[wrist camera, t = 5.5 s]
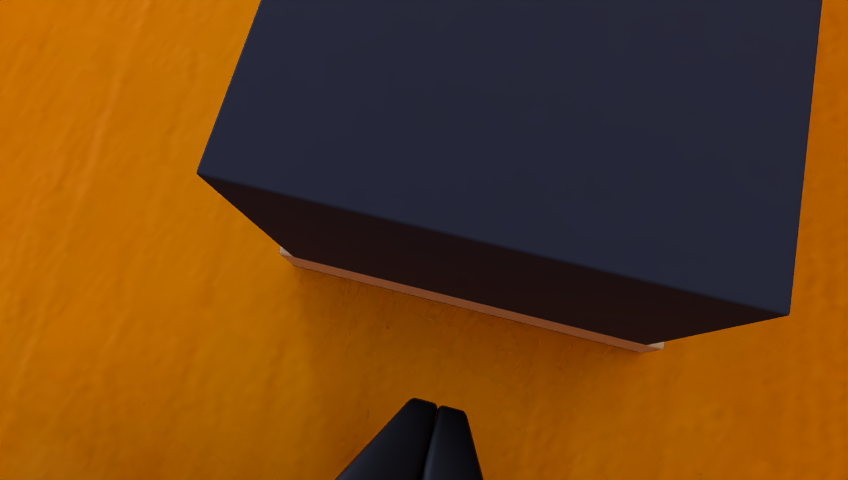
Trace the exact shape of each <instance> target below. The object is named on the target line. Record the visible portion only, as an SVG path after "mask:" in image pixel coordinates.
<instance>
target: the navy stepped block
mask: <svg viewBox="0 0 848 480" xmlns="http://www.w3.org/2000/svg"><path fill="white" fill-rule="evenodd" d="M821 7H822V0H261V2H260V5H259V7H258V10H257V13H256V15H255V18H254V21H253V23H252V26H251V29H250V31H249V34H248V36H247V39H246V42H245V44H244V47H243V50H242V52H241V55H240V58H239V60H238V63H237V66H236V68H235V71H234V74H233V76H232V79H231V82H230V84H229V87H228V90H227V92H226V95H225V98H224V100H223V103H222V106H221V108H220V111H219V114H218V116H217V119H216V122H215V124H214V127H213V129H212V132H211V135H210V137H209V140H208V143H207V145H206V148H205V151H204V153H203V156H202V159H201V161H200V164H199V167H198V169H197V174H198V175H199V176H200V177H201V178H202V179H203V180H204V181H206V182H207V183H208V184H209V185H210V186H211V187H213V188H214V189H215V190H216V191H217V192H218V193H220V194H221V195H222V196H223V197H224V198H225V199H227V200H228V201H229V202H230V203H231V204H232V205H234V206H235V207H236V208H237V209H238V210H239V211H241V212H242V213H243V214H244V215H245V216H246V217H248V218H249V219H250V220H251V221H252V222H253V223H255V224H256V225H257V226H258V227H259V228H260V229H261V230H263V231H264V232H265V233H266V234H267V235H268V236H270V237H271V238H272V239H273V240H274V241H275V242H277V243H278V244H279V245H280V246H281V248H280V251H279V253H280V254H281V255H282V256H283V257H284V258H286V259H287V260H288V261H289V262H291V263H292V264H293V265H294V266H298V267H302V268H306V269H310V270H314V271H318V272H322V273H326V274H330V275H334V276H338V277H342V278H346V279H350V280H354V281H358V282H362V283H366V284H370V285H374V286H378V287H382V288H386V289H390V290H394V291H398V292H402V293H406V294H410V295H414V296H418V297H422V298H426V299H430V300H434V301H438V302H442V303H446V304H450V305H454V306H458V307H462V308H465V309H469V310H473V311H477V312H481V313H485V314H489V315H493V316H497V317H501V318H505V319H509V320H513V321H517V322H521V323H525V324H529V325H533V326H537V327H541V328H545V329H549V330H553V331H557V332H561V333H565V334H569V335H573V336H577V337H581V338H585V339H589V340H593V341H597V342H601V343H605V344H609V345H613V346H617V347H621V348H625V349H629V350H633V351H636V352H640V353H644V352H650V351H656V350H661V349H663V348H664V342H665V341H669V340H674V339H679V338H684V337H688V336H693V335H698V334H703V333H707V332H712V331H717V330H721V329H726V328H731V327H736V326H740V325H745V324H750V323H755V322H759V321H764V320H769V319H774V318H778V317H783V316H788V315H789V313H790V305H791V296H792V286H793V276H794V267H795V257H796V247H797V238H798V228H799V218H800V209H801V199H802V190H803V180H804V170H805V161H806V151H807V141H808V132H809V122H810V112H811V103H812V93H813V84H814V74H815V64H816V55H817V45H818V35H819V26H820V16H821Z"/></svg>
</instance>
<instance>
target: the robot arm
mask: <svg viewBox="0 0 848 480" xmlns="http://www.w3.org/2000/svg"><path fill="white" fill-rule="evenodd" d="M436 413H437V414H436ZM435 417H436V418H435ZM434 421H435V422H434ZM433 425H434V426H433ZM335 480H483V476H482V472H481V468H480V465H479V461H478V457H477V453H476V449H475V445H474V442H473V438H472V434H471V430H470V426H469V422H468V419H467V416H466V414H465V412H464V411H462V410H459V409H455V408H451V407H448V406H443V405H442V406H440V407H439V408H438V410H437V405H436V404H435V403H433V402H429V401H425V400H422V399H418V398H412V399H410V400H409V401H408V402H407V403H406V404H405V405H404V406H403V407H402V408H401V409H400V410H399V411H398V413H397V414H396V415H395V416H394V417H393V418H392V419H391V420H390V421H389V422H388V423H387V424H386V425H385V426H384V428H383V429H382V430H381V431H380V432H379V433H378V434H377V435H376V436H375V437H374V438H373V439H372V440H371V441H370V442H369V444H368V445H367V446H366V447H365V448H364V449H363V450H362V451H361V452H360V453H359V454H358V455H357V456H356V457H355V459H354V460H353V461H352V462H351V463H350V464H349V465H348V466H347V467H346V468H345V469H344V470H343V471H342V472H341V474H340V475H339V476H338V477H337V478H336V479H335Z"/></svg>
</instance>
